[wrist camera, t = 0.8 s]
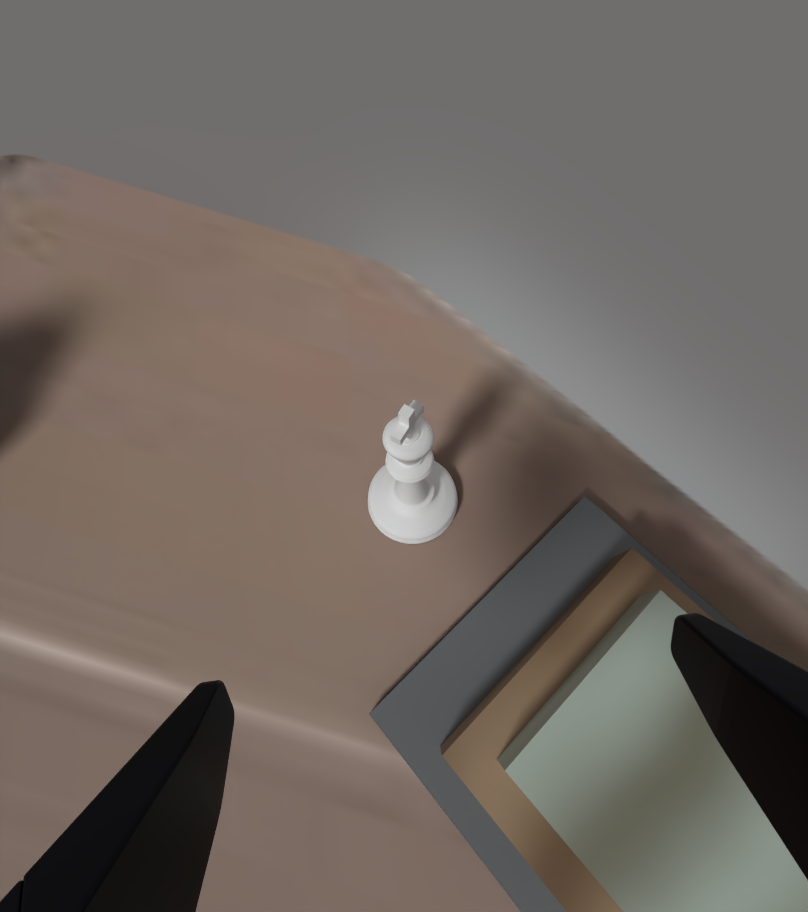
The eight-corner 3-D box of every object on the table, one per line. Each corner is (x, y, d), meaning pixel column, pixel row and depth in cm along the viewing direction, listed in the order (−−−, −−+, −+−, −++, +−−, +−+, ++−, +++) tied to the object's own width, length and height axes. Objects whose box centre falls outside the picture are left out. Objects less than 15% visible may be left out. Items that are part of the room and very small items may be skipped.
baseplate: (922, 801, 19) (942, 806, 19) (716, 1159, 16) (730, 1183, 15) (580, 500, 25) (584, 495, 24) (370, 711, 21) (369, 713, 21)
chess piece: (350, 515, 25) (309, 434, 16) (397, 444, 27) (384, 334, 18) (429, 561, 24) (432, 503, 15) (473, 484, 26) (500, 388, 17)
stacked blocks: (850, 770, 19) (957, 799, 15) (678, 1041, 16) (757, 1160, 12) (613, 556, 23) (651, 536, 19) (440, 745, 20) (443, 766, 16)
